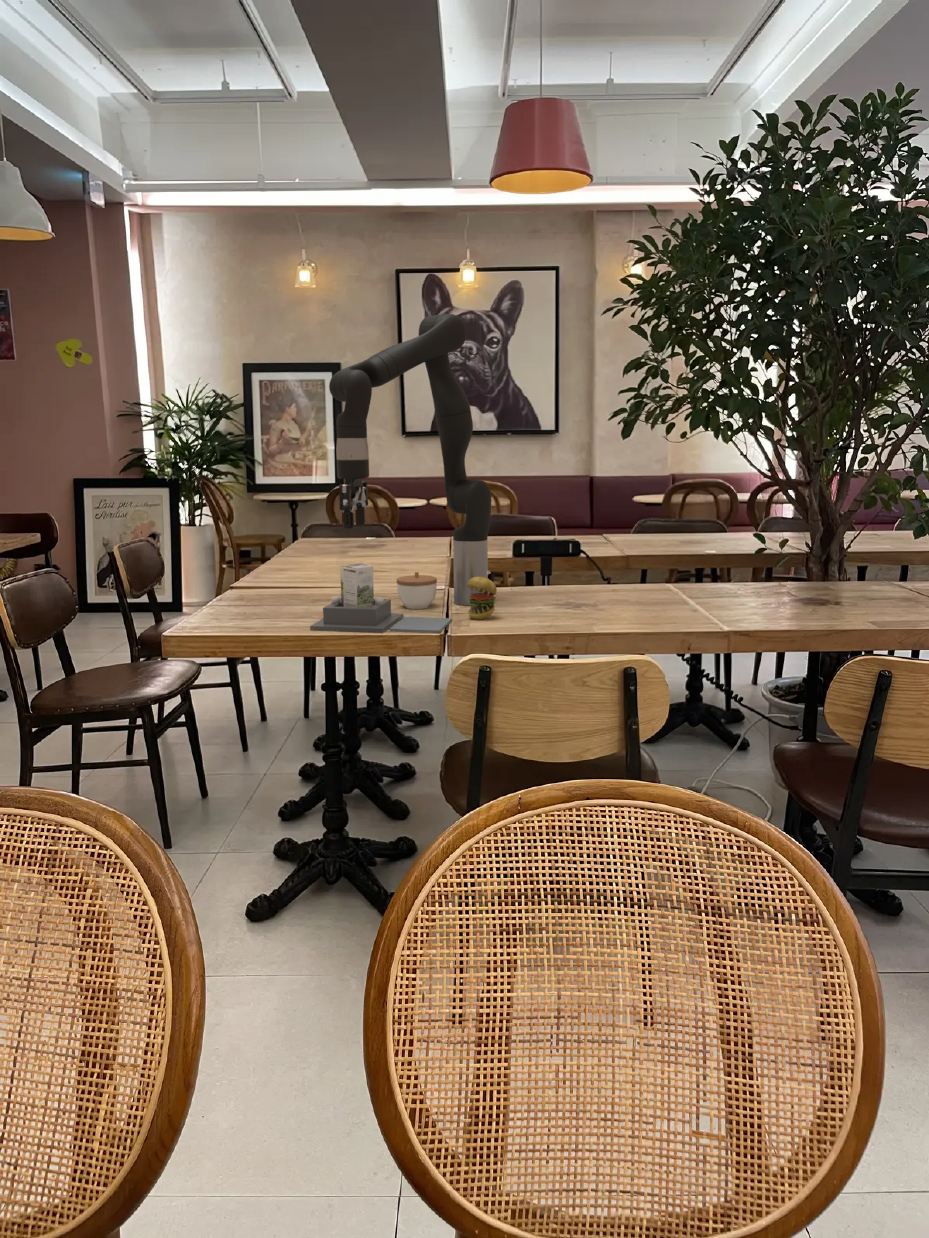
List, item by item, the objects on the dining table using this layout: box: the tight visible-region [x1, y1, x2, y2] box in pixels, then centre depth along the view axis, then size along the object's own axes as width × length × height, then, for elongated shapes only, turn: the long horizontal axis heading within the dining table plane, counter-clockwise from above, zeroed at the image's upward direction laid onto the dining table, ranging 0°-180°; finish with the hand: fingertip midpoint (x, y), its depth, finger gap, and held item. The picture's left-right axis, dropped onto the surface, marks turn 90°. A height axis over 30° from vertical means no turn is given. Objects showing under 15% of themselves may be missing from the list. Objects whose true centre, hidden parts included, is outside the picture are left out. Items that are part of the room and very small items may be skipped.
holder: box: [309, 595, 405, 634], centre depth 220 cm, size 18×18×6 cm
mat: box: [389, 616, 453, 634], centre depth 217 cm, size 14×12×1 cm
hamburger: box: [467, 569, 498, 621], centre depth 225 cm, size 8×7×12 cm
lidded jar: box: [396, 571, 438, 610], centre depth 240 cm, size 11×11×9 cm
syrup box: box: [340, 562, 375, 608], centre depth 219 cm, size 6×6×14 cm
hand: (355, 526), depth 216 cm, fingers open, 8 cm apart
